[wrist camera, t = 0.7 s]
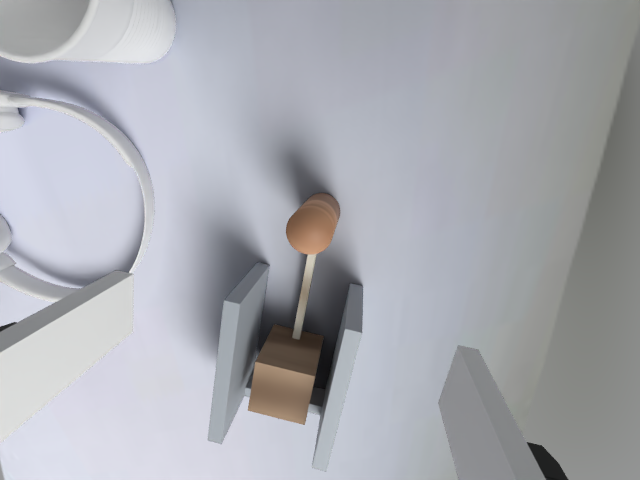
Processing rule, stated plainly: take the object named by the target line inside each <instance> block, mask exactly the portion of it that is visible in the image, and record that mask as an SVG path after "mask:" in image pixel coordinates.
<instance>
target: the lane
mask: <svg viewBox="0 0 640 480" xmlns="http://www.w3.org/2000/svg"><path fill="white" fill-rule="evenodd" d="M269 267H270V265H267V264H263V263H258V262H257V263H256V264H255V265H254V267H253V268H252V269H251V270H250V271H249V272H248V273H247V275H246V276H245V277H244V278H243V279H242V280H241V281H240V283H239V284H238V285H237V286H236V287H235V288H234V289H233V290H232V292H231V293H230V294H229V295H228V296H227V297H226V298H225V300H224V303H223V312H222V320H221V329H220V337H219V346H218V355H217V363H216V372H215V381H214V389H213V398H212V407H211V415H210V424H209V433H208V441H212V442H215V443H219V444H222V442H223V440H224V438H225V436H226V434H227V432H228V429H229V427H230V425H231V423H232V421H233V419H234V417H235V415H236V413H237V410H238V408H239V406H240V404H241V402H242V400H243V398H244V396H246V397H250V393H251V387H252V380H253V374H254V372H253V370H254V364H255V357H256V351H257V344H258V338H259V332H260V325H261V319H262V312H263V306H264V299H265V293H266V286H267V280H268V273H269ZM362 315H363V286H360V285H356V284H351V283H350V286H349V291H348V295H347V299H346V303H345V308H344V312H343V316H342V320H341V325H340V329H339V333H338V338H337V342H336V346H335V350H334V355H333V359H332V363H331V368H330V372H329V376H328V380H327V385H326V389H325V390H324V389H320V388H316V387H313V389H312V394H311V398H310V403H309V407H308V412H309V413H313V414H317V415H321V416H320V422H319V428H318V434H317V440H316V446H315V452H314V458H313V464H312V468H314V469H317V470H321V471H325V472H326V471H327V468H328V464H329V460H330V456H331V452H332V448H333V444H334V440H335V436H336V433H337V429H338V425H339V421H340V417H341V413H342V409H343V405H344V401H345V398H346V394H347V390H348V386H349V382H350V378H351V374H352V370H353V366H354V363H355V359H356V355H357V351H358V347H359V343H360V339H361V335H362Z"/></svg>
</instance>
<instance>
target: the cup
mask: <svg viewBox="0 0 640 480" xmlns="http://www.w3.org/2000/svg"><path fill="white" fill-rule="evenodd" d="M175 32H176V18H175V12H174V9H173V6H172V3H171V1H170V0H0V56H1V57H4V58H7V59H10V60H13V61H15V62H23V63H32V64H33V63H41V62H48V61H51V60H60V61H86V62H88V61H89V62H110V63H129V64H150V63H153V62H156V61H158V60H159V59H161V58H162V57H163V56H164V55H165V54H166V53H167V52H168V51H169V49H170V47H171V46H172V43H173V41H174V38H175Z"/></svg>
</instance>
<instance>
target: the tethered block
mask: <svg viewBox="0 0 640 480" xmlns="http://www.w3.org/2000/svg"><path fill="white" fill-rule="evenodd" d="M339 216H340V207H339V204H338V202H337V201H336V199H335V198H334V197H332V196H331V195H329V194H326V193H317V194H314V195H312V196H311V197H310V198H309V199H308V200H307V201H306V202H305V203H304V204H303V205H302V206H301V207H300V208H299V209H298V210H297V211H296V212H295V213H294V214H293V215H292V216H291V218H290V219H289V221H288V223H287V227H286V235H287V239H288V241H289V243H290V244H291V245H292V247H293V248H294V249H296V250H297V251H299V252H301V253H304V254H308V256H307V262H306V267H305V272H304V278H303V283H302V288H301V293H300V299H299V304H298V309H297V315H296V320H295V325H294V329H292V328H288V327H284V326H280V325H275V324H274V325H273V327H272V329H271V331H270V333H269V335H268V337H267V339H266V341H265V343H264V345H263V347H262V349H261V351H260V353H259V355H258V357H257V359H256V361H255V367H254V374H253V380H252V387H251V393H250V400H249V406H248V411H252V412H256V413H260V414H264V415H268V416H272V417H276V418H280V419H283V420H287V421H291V422H295V423H299V424H303V425H305V421H306V417H307V412H308V407H309V403H310V398H311V394H312V389H313V385H314V380H315V376H316V371H317V366H318V362H319V357H320V352H321V348H322V343H323V338H324V336H322V335H318V334H313V333H309V332H305V331H302V327H303V322H304V317H305V312H306V307H307V301H308V296H309V291H310V286H311V281H312V276H313V271H314V266H315V261H316V256H317V253H320V252H322V251H323V250H325V249H326V248H327V247H328V246H329V244H330V242H331V240H332V237H333V234H334V231H335V228H336V225H337V222H338V220H339Z"/></svg>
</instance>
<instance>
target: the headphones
mask: <svg viewBox="0 0 640 480" xmlns="http://www.w3.org/2000/svg"><path fill="white" fill-rule="evenodd" d="M30 106H35V107H41V108H47V109H51V110H55V111H58V112H61V113H64V114H67V115H69V116H72V117H74V118H76V119H78V120H80V121H82V122H84V123H86V124H87V125H89V126H90V127H92V128H93V129H95V130H96V131H97V132H99V133H100V134H101V135H102V136H103V137H105V138H106V139H107V140H108V141H109V142H110V143H111V144H112V145H113V146H114V148H115V149H116V150H117V151H118V152H119V154H120V155H121V156H122V158H123V159H124V161H125V162H126V163H127V164H128V165H129V166H130V167H132V168H133V169H134V171H135V173H136V175H137V177H138V180H139V183H140V186H141V190H142V194H143V200H144V209H145V221H144V231H143V237H142V242H141V245H140V249H139V252H138V255H137V257H136V260H135V262H134V264H133V266H132V268H131V269H130V271H129V272H128V273H133V272H134V271H135V270H136V269H137V267H138V266H139V264H140V263H141V261H142V259H143V257H144V255H145V253H146V251H147V248H148V245H149V242H150V238H151V234H152V229H153V224H154V215H155V200H154V191H153V186H152V181H151V178H150V175H149V172H148V169H147V167H146V165H145V163H144V161H143V159H142V157H141V155H140V154H139V152H138V151H137V149H136V148H135V146H134V145H133V144H132V142H131V141H130V140H129V139H128V138H127V137H126V136H125V135H124V134H123V133H122V132H121V131H120V130H119V129H118V128H117V127H115V126H114V125H113V124H112V123H110V122H109V121H107V120H106V119H104V118H103V117H101V116H99V115H97V114H95V113H94V112H91V111H89V110H87V109H85V108H82V107H79V106H76V105H73V104H69V103H65V102H61V101H55V100H50V99H42V98H33V97H30V96H28V95H24V94H20V93H15V92H9V91H3V90H0V133H3V132H8V131H13V130H16V129H19V128H21V127H22V126H23V125H24V122H25V121H24V118H23V117H22V116H21V115H20V114H19V112H18V108H17V107H19V108H23V107H30ZM11 240H12V235H11V231H10V229H9V226H8V224H7V222H6V221H5V219H4V218H3V217H2V216H1V214H0V282H2V283H4V284H6V285H7V286H9V287H11V288H13V289H15V290H18V291H20V292H22V293H24V294H27V295H29V296H32V297H35V298H38V299H42V300H46V301H50V302H57V301H59V300H61V299H63V298H65V297H66V296H68V295H70V294H72V293H74V292H76V291H78V290H80V289H81V288H69V287H63V286H59V285H55V284H52V283H49V282H46V281H44V280H41V279H39V278H36V277H34V276H32V275H30V274H28V273H27V272H25V271H23V270H21V269H19V268H17V267H16V266H14V265H15V264H16V262H15V261H14V260H13V259H12V258H11V257H10V256H9V255H8V254H6V253H4V252H3V251H4V250H5V249H6V248H7V247H8V246H9V245H10V243H11Z"/></svg>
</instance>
